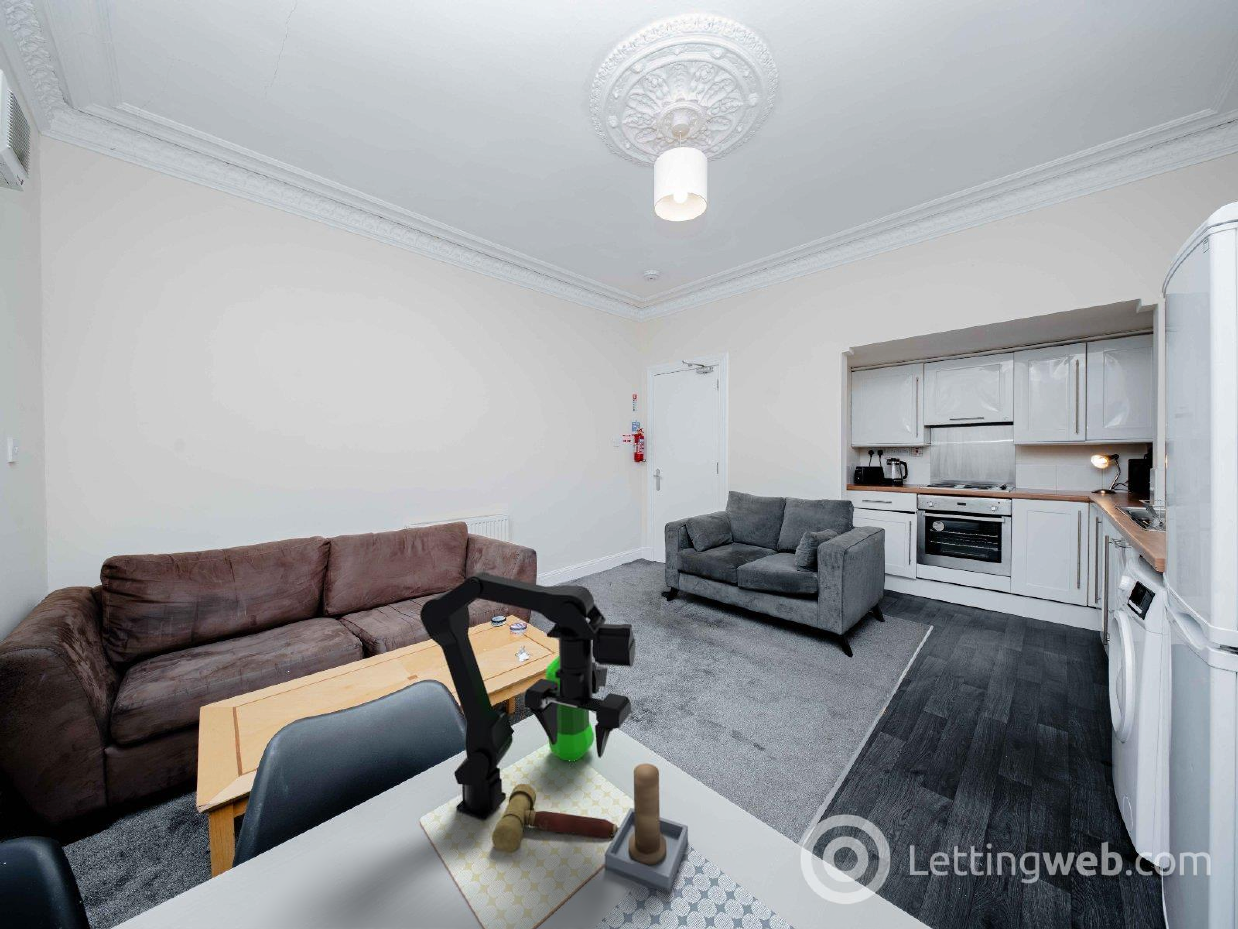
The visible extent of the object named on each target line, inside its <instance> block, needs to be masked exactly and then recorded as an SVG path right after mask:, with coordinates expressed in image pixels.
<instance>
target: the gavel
mask: <svg viewBox="0 0 1238 929" xmlns="http://www.w3.org/2000/svg"><path fill="white" fill-rule="evenodd" d="M536 801H537V792H536V791H535V789H534V787H533V786H531V785H530V784H527V783H520V784H516V786H514V788H513V789H512V791H511V793H510V795H509V798H508V804H507V805H506V808H505V811H504V813H503V815H502V817H501V818H500V819H499V821H498V822H497V823H496V825H495V827H494V830H493V831H492V834H491V842H492V844H493V846H494V848H495V849H496V850H497V851H499V852H506V853H513V852H515V851H516V850H517V849H518V848H519V845H520V842H521V840H522V837H523V833H524V832H523V831H524V830H523V829H524V827H533V828H536V829H539V830H542V831H547V832H548V831H549V832H557V833H562V834H563V833H565V834H571V835H578V836H584V837H585V836H586V837H593V838H598V839H606V838H611V837H614V836H615V835H616V833H617V831H618V829H619V827H618V825H617V824H615V823H612V822H611V821H609V820H607V819H606V818H596V817H592V816H583V815H575V814H569V813H561V812H556V811H555V812H554V811H547V810H541V811H535V810H533V809H534V806H535V804H536Z"/></svg>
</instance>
